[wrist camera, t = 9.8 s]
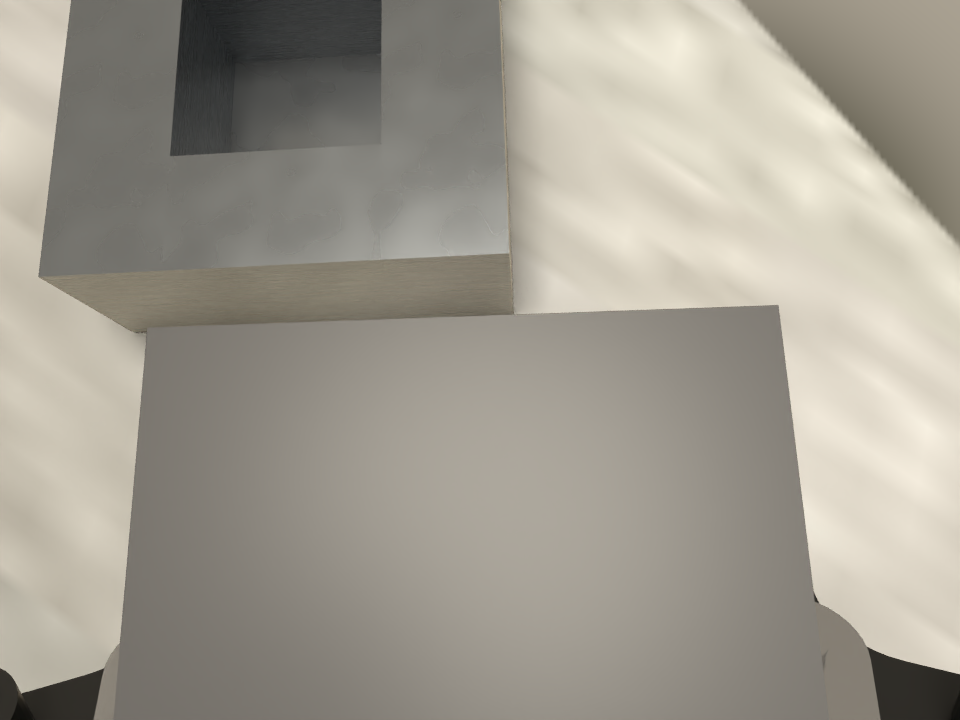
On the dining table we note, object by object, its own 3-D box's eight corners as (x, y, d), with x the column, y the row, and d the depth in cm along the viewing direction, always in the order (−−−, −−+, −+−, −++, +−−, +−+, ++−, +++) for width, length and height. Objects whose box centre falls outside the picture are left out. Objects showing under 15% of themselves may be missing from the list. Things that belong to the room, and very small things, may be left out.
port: (513, 314, 24) (509, 253, 20) (133, 332, 25) (38, 277, 20) (500, -17, 27) (493, -141, 23) (161, 6, 28) (84, -109, 23)
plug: (615, 704, 15) (872, 1073, 4) (396, 707, 15) (83, 1067, 4) (602, 481, 16) (778, 305, 5) (396, 486, 16) (147, 328, 5)
